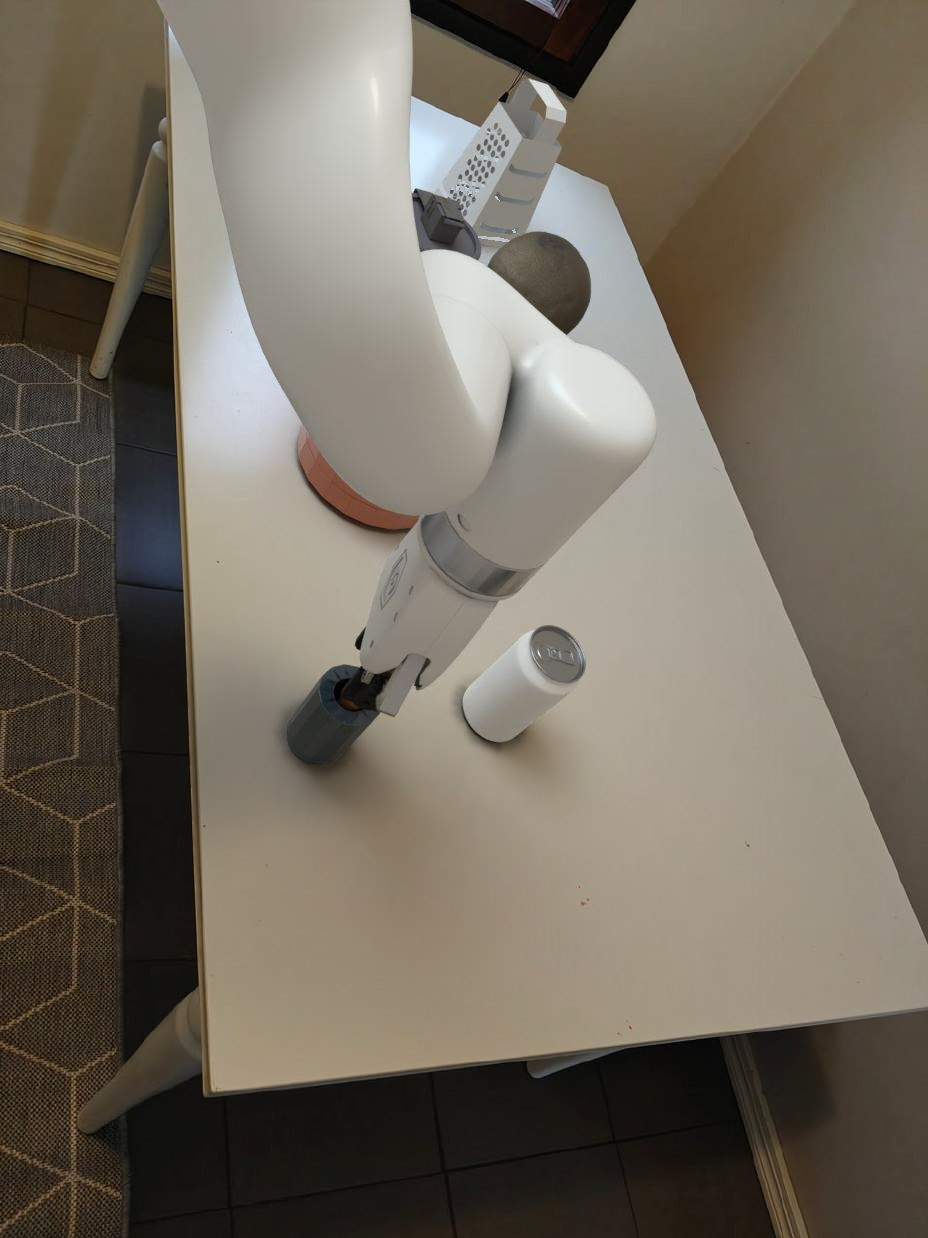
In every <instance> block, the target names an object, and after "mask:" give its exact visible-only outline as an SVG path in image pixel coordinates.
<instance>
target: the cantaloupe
mask: <svg viewBox="0 0 928 1238" xmlns="http://www.w3.org/2000/svg"><path fill="white" fill-rule="evenodd" d="M486 266H487V267H488V268H490V269H491V270H493V271H494V272H495V273H497V274H498V275H499V276H500V277H501V278H503V279H504V280H505V281H506V282H507V283H508V284H510V285H511V286H512V287H513V288H514V289H515V290H516V291H517V292H518V293H520V294H521V295H522V296H523V297H524V298H525V299H526V300H527V301H528V302H529V303H530V304H531V305H532V306H533V307H535V308H536V309H537V310H538V311H539V312H540V313H541V314H542V315H543V316H545V317H546V318H547V319H548V320H549V321H550V322H551V323H552V324H553V325H555V326H556V327H557V328H558V329H559V330H561V331H562V332H563V333H564V334H565V335H567V336H568V335H569V334H570V333H571V332H572V331H573V330H574V329H575V328H576V327H577V326H578V325H579V324H580V322H581V321H582V320H583V318H584V316H585V315H586V312H587V310H588V308H589V306H590V303H591V299H592V279H591V278H592V277H591V272H590V270H589V266H588V264H587V262H586V260H585V259H584V258H583V256H582V254H581V252H580V251H579V250H578V249H577V248H576V247H575V246H574V245H573V244H572V243H571V242H570V241H569V240H568V239H566V238H564V237H562V236H561V235H558V234H555V233H551V232H547V231H541V230H540V231H529V232H526V233H525V234H523V235H521V236H518V237H516V238H514V239H512V240H510V241H509V242H508V243H506V244H505V245H504V246H503V247H502V248H499V249H498V250H497V251H496V252H495V253H494V255H493V256H492V257H491V258H490V260H489V262H488V263H487V265H486Z"/></svg>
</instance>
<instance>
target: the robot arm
mask: <svg viewBox="0 0 928 1238" xmlns="http://www.w3.org/2000/svg"><path fill="white" fill-rule="evenodd" d="M155 1H156V2H157V5H158V7H159V9H160V11H161V13H162V15H163V16H164V19H165V20H166V23H167V25H168V27H169V28H170V30H171V33H172V34H173V36H174V39H175V40H176V42H177V44H178V46H179V48H180V51H181V52H182V55H183V57H184V59H185V61H186V63H187V65H188V67H189V69H190V71H191V74H192V76H193V79H194V80H195V82H196V85H197V89H198V90H199V93H200V97H201V100H202V105H203V109H204V113H205V121H206V126H207V134H208V142H209V150H210V158H211V164H212V168H213V169H212V170H213V175H214V180H215V183H216V189H217V193H218V197H219V202H220V207H221V212H222V214H223V218H224V222H225V227H226V231H227V236H228V241H229V245H230V251H231V255H232V259H233V263H234V268H235V272H236V277H237V280H238V284H239V288H240V291H241V295H242V299H243V302H244V305H245V308H246V311H247V314H248V317H249V320H250V323H251V325H252V329H253V331H254V334H255V337H256V339H257V341H258V344H259V347H260V349H261V351H262V354H263V356H264V357H265V359H266V361H267V364H268V366H269V368H270V369H271V372H272V374H273V375H274V378H275V379H276V381H277V383H278V385H279V386H280V388H281V390H282V391H283V393H284V395H285V397H286V399H287V400H288V402H289V404H290V406H291V407H292V408H293V411H294V412H295V414H296V416H297V417H298V419H299V421H300V422H301V424H302V425H303V426H304V428H305V429H306V431H307V432H308V434H309V436H310V437H311V439H312V440H313V442H314V444H315V445H316V447H317V448H318V450H319V451H320V453H321V454H322V456H323V457H324V458H325V460H326V461H327V462H328V464H329V465H330V466H331V467H332V468H333V469H334V471H335V472H336V473H337V474H338V476H339V477H340V478H341V479H342V480H343V481H344V482H345V483H346V484H348V485H349V486H350V487H351V488H352V489H353V490H354V491H355V492H356V493H358V494H359V495H361V496H362V497H364V498H365V499H366V500H368V501H369V502H371V503H373V504H375V505H377V506H379V507H381V508H383V509H386V510H389V511H392V512H395V513H399V514H405V515H412V516H419V515H420V516H419V519H418V522H417V523H416V524H415V525H414V526H413V527H412V528H410V530H409V531H408V533H406V535H405V536H404V538H402V539H401V541H400V542H399V544H397V546H396V547H395V549H393V551H392V553H391V554H390V555H389V557H388V558H387V560H386V561H385V563H384V566H383V568H382V570H381V573H380V577H379V579H378V583H377V586H376V590H375V593H374V597H373V601H372V604H371V608H370V611H369V615H368V618H367V621H366V625H365V627H364V628H363V629H362V631H361V632H360V633H359V634H358V636H357V637H356V639H355V641H354V647H355V649H356V650H358V651H359V661H360V666H359V667H360V668H359V669H358V670H357V671H356V673H355V674H354V675H353V676H352V678H351V679H350V680H349V681H348V683H347V684H346V685H345V686H344V687H343V689H342V692H341V695H340V696H341V698H343V699H345V700H347V701H350V702H352V703H354V705H355V706H357V707H359V708H361V709H364V710H368V711H371V710H373V711H375V712H380V713H382V714H384V715H387V716H389V717H392V718H395V717H396V716H397V714H398V712H399V711H400V709H401V708H402V705H403V704H404V703H405V700H406V698H407V696H408V694H409V693H410V691H411V689H412V687H413V686H414V687H415V691H416V692H417V691H422V690H425V689H426V688H428V687H429V686H431V685H432V684H433V683H434V682H436V680H438V679H439V678H440V677H441V676H442V675H443V674H444V673H445V672H446V670H447V669H448V668H449V667H450V666H451V665H452V664H453V662H454V661H455V660H456V659H457V658H458V657H459V656H460V654H461V653H462V652H463V651H464V650H465V649H466V647H467V646H468V644H470V642H471V641H472V640H473V639H474V637H475V636H476V634H477V633H478V632H479V630H480V629H481V628H482V627H483V625H484V624H485V623H486V621H487V620H488V618H489V617H490V616H491V614H492V613H493V611H494V610H495V609H496V607H497V605H498V603H499V602H501V601H505V600H508V599H510V598H512V597H514V596H516V595H517V594H518V593H519V592H520V591H521V590H522V589H523V588H524V587H525V586H526V585H527V584H528V583H529V582H530V581H531V579H533V578H534V577H535V576H536V574H537V573H539V571H540V570H541V569H542V568H543V567H544V566H545V565H546V564H547V563H548V562H549V561H550V559H552V557H553V556H554V555H555V554H556V553H557V552H559V550H560V549H561V548H562V547H563V546H564V545H565V544H566V543H567V542H568V541H569V540H570V539H571V538H572V537H573V535H575V534H576V532H578V530H579V529H580V528H581V527H582V526H583V525H584V524H585V523H586V522H588V520H589V519H590V518H591V517H592V516H593V515H594V514H595V513H596V512H597V511H598V510H599V509H600V508H601V507H602V506H603V505H604V504H605V503H606V502H607V501H608V499H610V497H612V496H613V495H614V493H615V492H616V491H618V489H620V487H621V486H622V485H623V484H624V483H626V481H627V480H628V479H629V478H630V477H631V476H633V474H634V473H635V472H636V471H637V469H639V467H640V466H641V465H642V464H643V463H644V461H646V460H647V458H648V456H649V455H650V453H651V451H652V450H653V447H654V444H655V441H656V438H657V433H658V432H657V431H658V420H657V413H656V411H655V408H654V405H653V403H652V399H651V398H650V396H649V394H648V392H647V391H646V389H645V388H644V386H643V385H642V383H641V382H640V380H638V379H637V377H636V376H635V375H634V374H633V373H632V372H631V371H630V370H629V369H628V368H627V367H625V366H624V365H623V364H622V363H621V362H619V361H618V360H617V359H615V358H614V357H612V356H610V355H609V354H607V353H606V352H604V351H602V350H599V349H597V348H595V347H593V346H589V345H585V344H582V343H578V342H576V341H574V340H573V339H572V338H570V337H569V336H568V334H567V335H565V334H564V333H563V332H562V331H561V330H559V329H558V328H557V327H556V326H555V325H553V324H552V323H551V322H550V321H549V320H548V319H547V318H546V317H545V316H543V315H542V314H541V313H540V312H539V311H538V310H537V309H536V308H535V307H533V306H532V305H531V304H530V303H529V302H528V301H527V300H526V299H525V298H524V297H523V296H522V295H521V294H520V293H518V292H517V291H516V290H515V289H514V288H513V287H512V286H511V285H510V284H508V283H507V282H506V281H505V280H504V279H503V278H501V277H500V276H499V275H498V274H497V273H495V272H494V271H493V270H491V269H490V268H488V267H487V266H488V265H486V264H484V263H482V262H481V261H479V260H478V261H477V260H475V259H473V258H471V257H469V256H467V255H464V254H461V253H459V252H455V251H450V250H439V249H434V250H427V251H422V252H420V248H419V243H418V237H417V231H416V225H415V218H414V210H413V200H412V193H413V192H412V191H413V190H412V179H411V161H410V151H411V149H410V148H411V147H410V139H411V138H410V137H411V136H410V131H411V130H410V129H411V112H412V111H411V110H412V94H413V93H412V92H413V75H414V74H413V72H414V71H413V70H414V41H413V24H412V13H411V2H410V0H155ZM391 669H395V670H394V672H393V673H390V672H387V671H388V670H391Z"/></svg>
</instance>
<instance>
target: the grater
mask: <svg viewBox="0 0 928 1238" xmlns="http://www.w3.org/2000/svg"><path fill="white" fill-rule="evenodd" d="M538 95H539V97H540V98H541V100H542V102H543V103H544V104H545V105H546V109H545V117H544V118H543V117H542V115H541V114H540V113H539V112H538V111H535V110H531V107H532V105H533V103H534V102H535V100H536V98H537V96H538ZM567 113H568V112H567V110H566V108H565V106H563V104H562V103H561V101H560V100H559V98H558V96H557V95H556V94H555V92H554V91H553V89H552V88H551V87H550V85H549V84H547V83H544V82H542V81H541V82H540V81H538V80H534V79H532V78H526V79H523V80H521V81H520V82H519V85H518V87H517V88H516V90H515V93H514V94H513V96H512V98H511V99H510V102H509V103H506V102H502V101H498V102H497V104H496V105H495V107H494V108H493V109H492V111H491V112H490V114H489V115H488V116H487V118H486V119H485V121H484V122H483V123H482V124H481V126H480V127H479V129H478V130H477V132H476V133H475V135H474V136H473V137H472V138H471V140H470V142H469V143H468V145H467V146H466V147H465V149H464V150H463V151H462V152H461V154H460V155H459V157H458V158H457V159H456V161H455V163H454V164H453V165H452V167H451V169H450V170H449V171H448V172H447V173H446V176H445V177H444V178H443V179H442V180H441V183H442V184H443V187H444V189H445V191H446V193H447V195H448V197H449V199H452V200H456V201H458V200H460V201H459V203H460V206H463V209H461V213H462V215H463V217H464V219H465V220H466V221H467V222H468V223H469V224H470V226H471V227H472V228H473V229H474V231H475V232H476V234H477V236H487V237H500V238H504V239H508V240H512V239H514V238H516V237H518V236H521V235H523V234H525V233H527V230H528V228H529V225H530V223H531V221H532V218H533V216H534V214H535V211H536V209H537V207H538V204H539V202H540V200H541V198H542V195H543V193H544V190H545V188H546V187H547V184H548V181H549V179H550V177H551V174H552V172H553V170H554V168H555V166H556V163H557V161H558V159H559V156H560V154H561V151H562V149H563V146H562V145H561V144H560V142H559V141H558V139H557V138H558V137H559V135H560V133H561V132H562V130H563V128H564V126H565V125H566V123H567ZM488 129H489V131H490V132H489V133H488V132H487V131H488ZM503 135H504V136H503ZM481 155H482V156H481ZM485 157H487V160H486V159H485ZM495 159H498V161H495ZM463 181H465V183H463ZM473 183H475V185H473ZM456 185H457V186H460V188H459V190H458V191H456ZM482 185H484V187H482ZM452 187H453V188H454V190H450V189H451V188H452ZM465 187H467V188H469V190H468V191H467V192H466V191H465ZM475 189H479V192H478V193H476V192H475ZM460 190H463V192H461V191H460ZM469 191H472V194H469V195H468V193H469ZM433 194H435V195H438V196H442V197H444V196H443V195H442V193H441V191H440V189H439V188H438V187H437V188H436V189H435V191H434V193H433ZM471 195H472V196H471ZM495 196H497V197H498V199H499V200H500V201H499V200H497V199H496V198H495ZM454 197H456V198H455V199H454ZM475 197H476V198H475ZM463 199H465V201H463ZM472 200H473V201H474V202H473V201H472ZM467 202H469V206H468V207H467V205H466V204H467ZM465 210H466V215H464V211H465ZM483 223H484V224H485V226H486V227H489V228H490V227H491V228H497V229H504V230H505V232H506V233H505V232H498V231H492V230H485V229H483V228H482V225H483ZM514 229H515V231H516V233H513V231H512V230H514ZM479 240H480V243H481V246H485V247H492V248H499V249H500V248H502V247H503V246H504V245H505V244H506V243H508V242H502V241H495V240H488V239H481V238H479Z"/></svg>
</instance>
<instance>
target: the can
mask: <svg viewBox="0 0 928 1238" xmlns="http://www.w3.org/2000/svg"><path fill="white" fill-rule="evenodd" d="M586 667H587V660H586V654H585V653H584V650H583V648H582V646H581V644H580V643H579V641H578V640H577V638H576V637H574V635H572V634H571V633H570V632H569V631H568V630H567V629H564V628H562V627H560V626H557V625H553V624H544V625H541V626H539V627H537V628H536V629H532V630H529V631H527V632H525V633H524V634H523V635H522V636H521V637H519V638H518V639H517V640H516V641H515V642H514V643H512V644H511V646H509V647H508V648H507V649H506V650H505V651H504V652H503V653H502V654H501V655H500V656H499V657H498V658H497V659H496V660H495V661H493V663H492V664H490V666H488V667H487V668H486V669H485V670H484V671H483V672H482V673H481V674H480V675H479V676H478V677H477V678H476V679H475V680H473V682H472V683H471V684H470V685H469V686H468V687H467V688H466V690H465V691H464V694H463V697H462V709H463V713H464V717H465V718H466V721H467V723H468V725H469V726H470V727H471V729H472V730H473V731H474V732H475V733H476V734H477V735H479V736H481V737H482V738H484V739H486V740H488V741H491V742H494V743H506V742H508V741H511V740H513V739H514V738H515V737H517V736H518V735H520V733H522V732H523V731H525V730H526V729H527V728H528V727H530V726H531V725H532V724H533V723H535V722H536V721H537V720H538V719H540V718H541V717H542V716H544V715H545V714H546V713H547V712H548V711H550V710H551V709H553V707H556V705H557V704H559V703H560V702H561V701H563V700H564V699H566V697H567V696H568V695H570V694H571V693H572V692H573V691H574V690H575V689H576V688H577V686H578V684H579V682H580V679H582V677H583V676H584V675H585V672H586Z"/></svg>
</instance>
